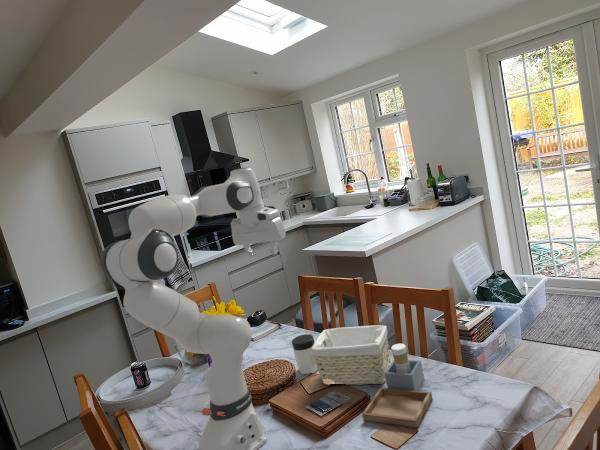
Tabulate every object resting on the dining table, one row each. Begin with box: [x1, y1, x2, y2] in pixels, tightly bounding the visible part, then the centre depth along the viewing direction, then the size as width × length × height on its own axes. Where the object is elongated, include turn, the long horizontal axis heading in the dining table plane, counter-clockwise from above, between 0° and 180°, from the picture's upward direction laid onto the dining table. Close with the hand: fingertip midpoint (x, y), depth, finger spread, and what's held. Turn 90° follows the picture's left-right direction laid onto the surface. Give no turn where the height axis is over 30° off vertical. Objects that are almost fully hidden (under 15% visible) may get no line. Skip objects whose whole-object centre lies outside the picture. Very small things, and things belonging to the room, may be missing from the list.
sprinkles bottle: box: [390, 343, 411, 374], centre depth 145 cm, size 5×5×14 cm
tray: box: [361, 387, 434, 430], centre depth 134 cm, size 14×16×2 cm
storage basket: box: [311, 324, 392, 386], centre depth 159 cm, size 24×16×15 cm
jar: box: [291, 333, 320, 375], centre depth 172 cm, size 9×8×12 cm
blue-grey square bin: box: [384, 359, 425, 391], centre depth 146 cm, size 9×9×6 cm
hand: (263, 255), depth 158 cm, fingers open, 8 cm apart
